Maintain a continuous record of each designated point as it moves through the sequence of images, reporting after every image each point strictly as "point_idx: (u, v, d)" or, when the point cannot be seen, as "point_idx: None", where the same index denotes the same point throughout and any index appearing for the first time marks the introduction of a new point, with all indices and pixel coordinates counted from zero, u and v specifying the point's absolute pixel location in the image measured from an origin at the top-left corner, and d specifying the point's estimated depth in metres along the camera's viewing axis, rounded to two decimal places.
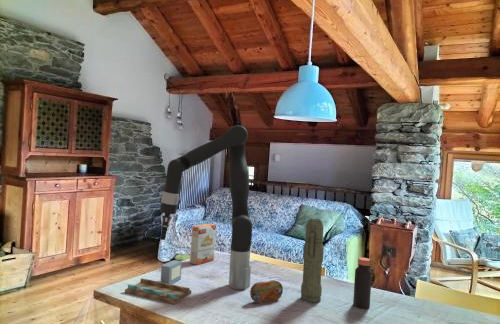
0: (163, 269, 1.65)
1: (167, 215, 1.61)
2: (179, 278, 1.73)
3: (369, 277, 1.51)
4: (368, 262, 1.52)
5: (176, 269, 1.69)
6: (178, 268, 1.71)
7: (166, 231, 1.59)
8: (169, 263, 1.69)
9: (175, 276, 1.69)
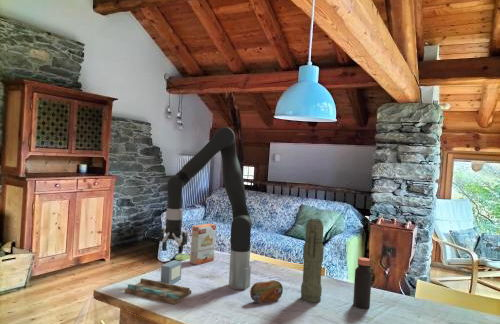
0: (163, 269, 1.65)
1: (180, 230, 1.68)
2: (179, 278, 1.73)
3: (369, 277, 1.51)
4: (368, 262, 1.52)
5: (176, 269, 1.69)
6: (178, 268, 1.71)
7: (183, 244, 1.69)
8: (169, 263, 1.69)
9: (175, 276, 1.69)
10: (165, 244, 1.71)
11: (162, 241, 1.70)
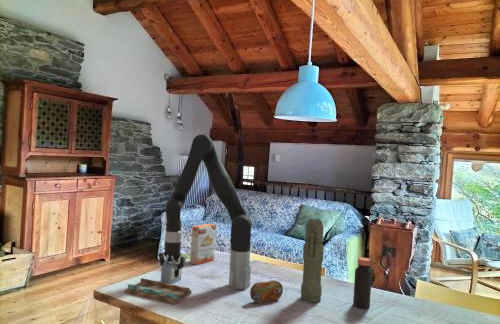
0: (163, 269, 1.65)
1: (179, 252, 1.69)
2: (179, 278, 1.73)
3: (369, 277, 1.51)
4: (368, 262, 1.52)
5: None
6: None
7: (179, 268, 1.70)
8: (169, 263, 1.69)
9: None
10: None
11: None
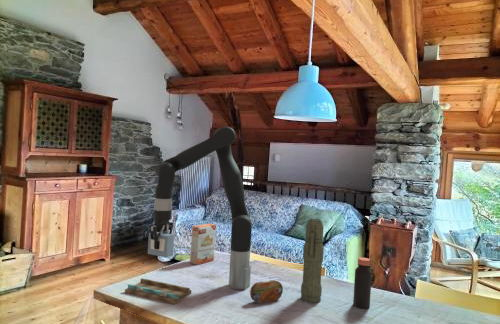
0: (169, 239, 1.53)
1: None
2: None
3: (369, 277, 1.51)
4: (368, 262, 1.52)
5: None
6: None
7: None
8: None
9: None
10: None
11: (159, 239, 1.52)
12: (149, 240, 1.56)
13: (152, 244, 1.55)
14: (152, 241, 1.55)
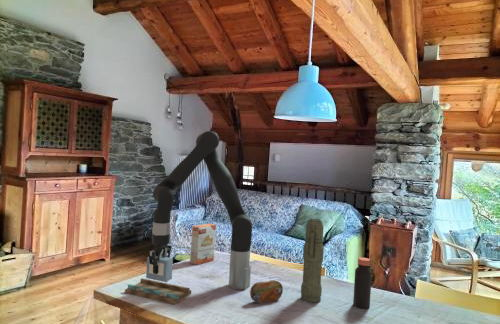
0: (168, 264, 1.53)
1: None
2: None
3: (369, 277, 1.51)
4: (368, 262, 1.52)
5: None
6: None
7: None
8: None
9: None
10: None
11: (158, 263, 1.52)
12: (147, 264, 1.55)
13: (151, 268, 1.54)
14: (151, 265, 1.54)
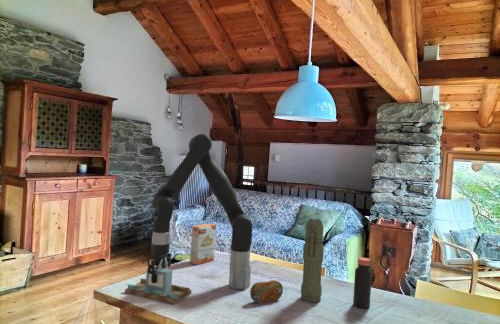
0: (167, 275, 1.53)
1: None
2: None
3: (369, 277, 1.51)
4: (368, 262, 1.52)
5: None
6: None
7: None
8: (159, 269, 1.55)
9: None
10: None
11: (156, 272, 1.51)
12: (147, 276, 1.55)
13: (150, 280, 1.54)
14: (150, 277, 1.54)
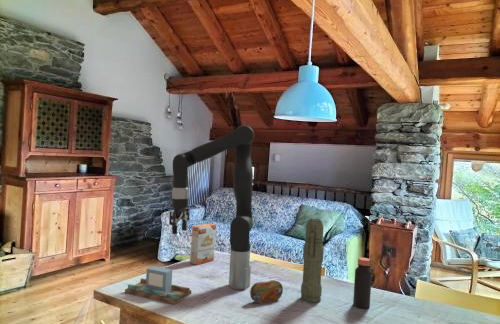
0: (167, 275, 1.53)
1: None
2: None
3: (369, 277, 1.51)
4: (368, 262, 1.52)
5: None
6: None
7: None
8: (159, 269, 1.55)
9: None
10: None
11: None
12: (147, 276, 1.55)
13: (150, 280, 1.54)
14: (150, 277, 1.54)
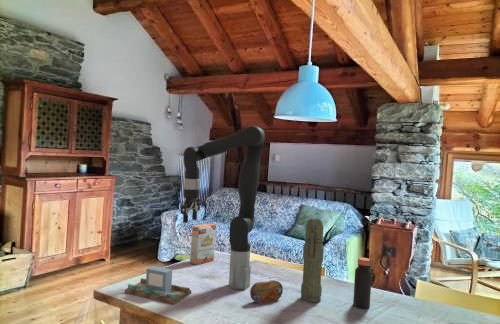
0: (167, 275, 1.53)
1: None
2: None
3: (369, 277, 1.51)
4: (368, 262, 1.52)
5: None
6: None
7: None
8: (159, 269, 1.55)
9: None
10: None
11: (187, 213, 1.70)
12: (147, 276, 1.55)
13: (150, 280, 1.54)
14: (150, 277, 1.54)
